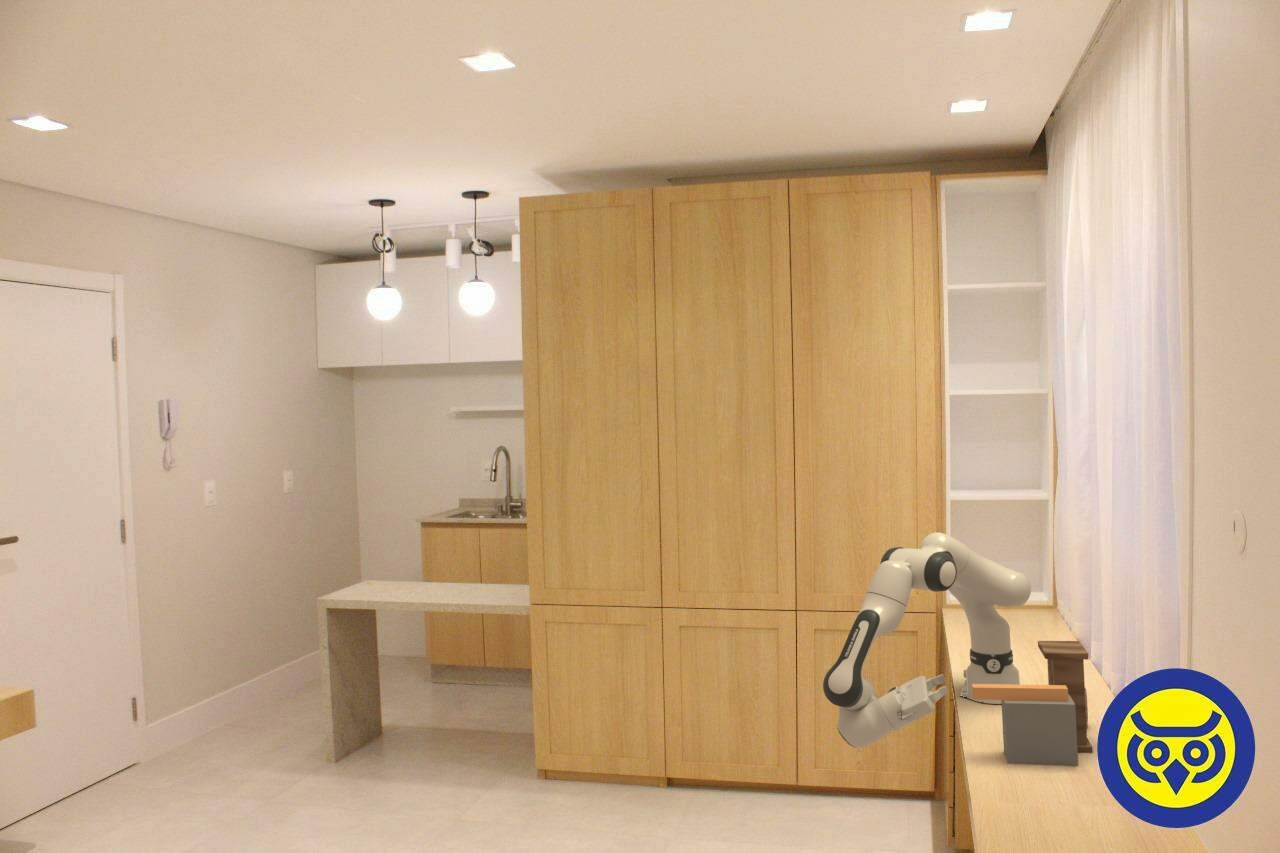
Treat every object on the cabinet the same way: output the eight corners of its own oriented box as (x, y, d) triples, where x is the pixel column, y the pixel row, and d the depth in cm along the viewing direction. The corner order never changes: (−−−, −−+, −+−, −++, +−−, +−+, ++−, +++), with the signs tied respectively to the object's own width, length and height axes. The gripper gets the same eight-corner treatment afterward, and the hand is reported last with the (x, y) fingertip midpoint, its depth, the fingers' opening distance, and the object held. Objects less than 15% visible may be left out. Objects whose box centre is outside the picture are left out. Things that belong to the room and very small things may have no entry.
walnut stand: (1042, 734, 256) (1037, 640, 255) (1083, 735, 253) (1078, 641, 252) (1049, 751, 244) (1045, 653, 243) (1092, 752, 241) (1088, 653, 241)
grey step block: (1003, 751, 246) (1001, 693, 245) (1071, 753, 242) (1069, 694, 241) (1007, 763, 238) (1004, 703, 237) (1078, 766, 234) (1075, 704, 234)
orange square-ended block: (972, 695, 244) (971, 683, 244) (1066, 697, 239) (1065, 685, 239) (973, 699, 242) (972, 687, 241) (1068, 701, 236) (1067, 689, 236)
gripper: (891, 711, 238) (941, 684, 235) (890, 686, 258) (936, 661, 254) (905, 733, 237) (955, 706, 234) (903, 706, 257) (950, 681, 254)
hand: (945, 682), depth 244 cm, fingers open, 8 cm apart
